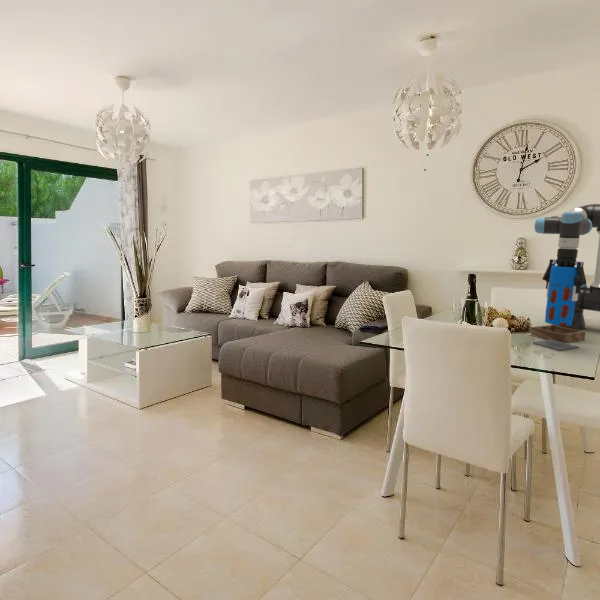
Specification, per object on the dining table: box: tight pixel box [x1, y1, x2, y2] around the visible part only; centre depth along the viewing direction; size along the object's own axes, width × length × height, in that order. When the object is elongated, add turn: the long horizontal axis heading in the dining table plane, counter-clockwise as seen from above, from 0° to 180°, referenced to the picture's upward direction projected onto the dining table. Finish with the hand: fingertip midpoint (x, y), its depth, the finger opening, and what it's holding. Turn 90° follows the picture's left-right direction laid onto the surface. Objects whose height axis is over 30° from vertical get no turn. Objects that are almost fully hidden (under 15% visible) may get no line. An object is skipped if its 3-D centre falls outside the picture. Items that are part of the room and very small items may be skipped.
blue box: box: [544, 265, 579, 326], centre depth 199 cm, size 11×11×25 cm
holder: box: [529, 324, 586, 344], centre depth 218 cm, size 16×16×4 cm
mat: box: [532, 339, 580, 352], centre depth 202 cm, size 13×13×1 cm
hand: (561, 298), depth 199 cm, fingers closed on blue box, 11 cm apart
